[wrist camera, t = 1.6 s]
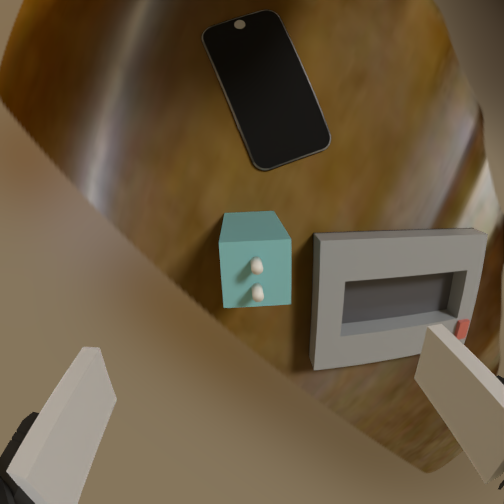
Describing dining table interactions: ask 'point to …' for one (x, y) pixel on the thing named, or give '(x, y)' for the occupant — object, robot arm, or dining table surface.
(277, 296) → the block
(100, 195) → the dining table surface
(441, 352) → the robot arm
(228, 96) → the smartphone
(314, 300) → the grey slotted tray
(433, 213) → the dining table surface
